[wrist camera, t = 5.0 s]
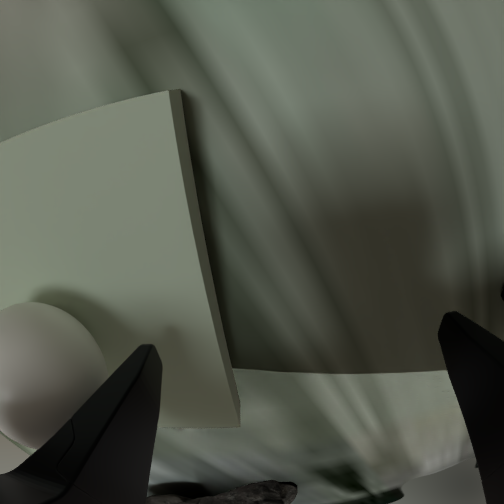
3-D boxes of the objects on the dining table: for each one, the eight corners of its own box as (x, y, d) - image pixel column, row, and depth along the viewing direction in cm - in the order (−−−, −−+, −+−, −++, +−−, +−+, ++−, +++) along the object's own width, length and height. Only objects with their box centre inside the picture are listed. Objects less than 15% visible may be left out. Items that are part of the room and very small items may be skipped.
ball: (81, 258, 10) (54, 373, 5) (128, 361, 12) (137, 469, 8) (-26, 289, 8) (-75, 387, 4) (31, 378, 11) (18, 474, 7)
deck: (180, 88, 8) (168, 90, 7) (240, 402, 15) (240, 427, 14) (-105, 202, 9) (-121, 214, 7) (-9, 383, 16) (-17, 398, 14)
